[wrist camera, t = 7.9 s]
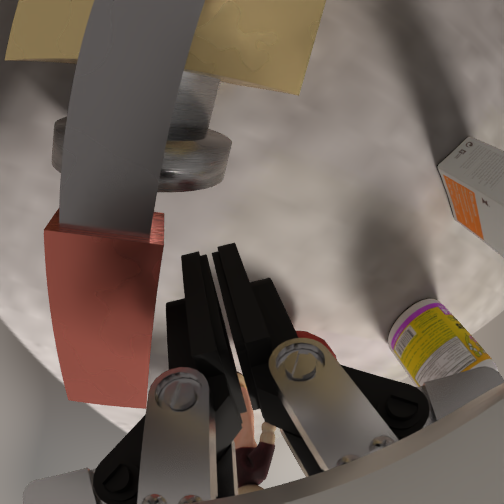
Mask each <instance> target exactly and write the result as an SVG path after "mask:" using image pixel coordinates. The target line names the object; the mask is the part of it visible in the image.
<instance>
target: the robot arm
mask: <svg viewBox="0 0 504 504" xmlns="http://www.w3.org/2000/svg"><path fill="white" fill-rule="evenodd" d="M212 256H213V260H214V265H215V269H216V273H217V277H218V281H219V285H220V289H221V293H222V297H223V301H224V305H225V309H226V313H227V317H228V321H229V325H230V329H231V333H232V337H233V340H234V344H235V348H236V352H237V355H238V359H239V362H240V366H241V370H242V373H243V377H244V380H245V384H246V387H247V391H248V394H249V398H250V401H251V405H252V408H253V410H256V409H261V412H262V416H263V418H264V420H265V422H266V423H269V424H271V425H273V426H276V427H278V428H280V431H281V434H282V435H283V437H284V439H285V441H286V442H287V444H288V446H289V448H290V450H291V451H292V453H293V455H294V457H295V459H296V460H297V462H298V464H299V466H300V467H301V469H302V471H303V472H304V474H305V476H306V478H303V479H300V480H296V481H293V482H289V483H286V484H282V485H278V486H275V487H271V488H267V489H262V490H258V491H254V492H250V493H245V494H240V495H238V482H237V468H236V452H235V442H234V438H235V437H236V436H237V434H238V433H239V432H240V430H241V429H242V425H241V424H242V423H243V422H242V418H241V414H240V413H245V412H247V409H246V405H245V401H244V398H243V394H242V390H241V386H240V382H239V379H238V375H237V371H236V367H235V363H234V359H233V355H232V351H231V347H230V343H229V339H228V335H227V331H226V327H225V323H224V319H223V315H222V312H221V308H220V304H219V301H218V297H217V293H216V289H215V285H214V282H213V278H212V274H211V270H210V266H209V262H208V258H207V255H202V256H200V254H199V251H198V252H194V253H190V254H186V255H182V256H181V260H182V272H183V283H184V293H185V298H184V299H180V300H176V301H171V302H167V303H166V322H167V344H168V361H169V370H168V371H166V372H164V373H162V374H161V375H160V376H159V377H157V378H156V379H155V381H154V382H153V384H152V385H151V387H150V390H149V394H148V401H147V409H146V415H145V416H144V417H143V418H142V419H141V420H140V421H139V422H138V423H137V424H136V425H135V426H134V427H133V429H132V430H131V431H130V432H129V433H128V434H127V435H126V436H125V437H124V438H123V439H122V440H121V441H120V443H118V444H117V446H116V447H115V448H114V449H113V450H112V451H111V452H110V453H109V454H108V455H107V456H106V457H105V458H104V459H103V460H102V461H101V462H100V464H99V465H98V467H97V468H96V469H93V470H90V469H88V468H84V469H80V470H76V471H73V472H68V473H65V474H60V475H56V476H51V477H47V478H42V479H38V480H34V481H32V482H30V483H29V484H28V485H27V486H26V488H25V490H24V493H23V504H504V380H503V378H502V376H501V375H500V374H499V372H498V371H496V370H495V369H493V368H491V367H487V366H483V367H477V368H474V369H470V370H467V371H464V372H460V373H457V374H453V375H450V376H446V377H442V378H439V379H435V380H431V381H427V382H424V383H423V385H422V386H419V387H414V386H411V385H409V384H405V383H402V382H398V381H394V380H391V379H387V378H384V377H380V376H377V375H373V374H370V373H366V372H363V371H359V370H356V369H353V368H349V367H346V366H343V365H340V364H339V363H338V361H337V360H336V359H335V357H334V356H333V355H332V354H331V352H330V351H329V350H328V349H327V348H326V347H325V346H324V345H323V344H322V343H320V342H318V341H316V340H314V339H309V338H299V337H298V335H297V333H296V331H295V329H294V327H293V325H292V323H291V320H290V318H289V316H288V314H287V312H286V310H285V308H284V305H283V303H282V301H281V299H280V297H279V295H278V293H277V291H276V288H275V286H274V284H273V282H272V280H271V279H270V278H266V279H262V280H258V281H254V282H249V279H248V277H247V274H246V271H245V269H244V266H243V263H242V261H241V258H240V255H239V253H238V250H237V247H236V244H235V243H232V244H227V245H223V246H219V247H218V252H214V253H212Z"/></svg>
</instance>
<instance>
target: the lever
mask: <svg viewBox="0 0 504 504" xmlns="http://www.w3.org/2000/svg"><path fill="white" fill-rule="evenodd" d="M204 2H205V0H94V3H93V6H92V9H91V12H90V15H89V19H88V22H87V26H86V29H85V33H84V36H83V40H82V44H81V48H80V52H79V56H78V61H77V65H76V70H75V74H74V79H73V84H72V90H71V95H70V101H69V107H68V114H67V121H66V128H65V136H64V145H63V155H62V167H61V182H60V206H59V209H58V210H57V211H56V213H55V214H54V216H53V217H52V219H51V220H50V222H49V223H48V225H47V226H46V228H45V229H44V247H45V263H46V276H47V286H48V295H49V304H50V311H51V318H52V325H53V331H54V337H55V342H56V348H57V353H58V358H59V363H60V367H61V372H62V376H63V381H64V385H65V389H66V393H67V396H68V400H71V401H78V402H85V403H92V404H101V405H110V406H120V407H131V408H145V409H146V403H147V387H148V374H149V361H150V350H151V340H152V330H153V321H154V312H155V304H156V296H157V288H158V281H159V274H160V267H161V260H162V253H163V247H164V213H158V212H154V207H155V201H156V195H157V189H158V183H159V178H160V172H161V167H162V162H163V157H164V152H165V147H166V142H167V138H168V133H169V128H170V124H171V119H172V115H173V111H174V107H175V102H176V98H177V94H178V90H179V86H180V83H181V79H182V75H183V71H184V68H185V64H186V60H187V57H188V53H189V50H190V46H191V43H192V40H193V36H194V33H195V30H196V27H197V23H198V20H199V17H200V14H201V11H202V8H203V5H204Z"/></svg>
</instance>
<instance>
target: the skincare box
mask: <svg viewBox="0 0 504 504" xmlns="http://www.w3.org/2000/svg"><path fill="white" fill-rule="evenodd" d="M438 170H439V172H440V175H441V177H442V180H443V183H444V186H445V189H446V192H447V195H448V198H449V201H450V205H451V208H452V212H453V215H454V219H455V221H457V222H458V223H460V224H461V225H462V226H464V227H465V228H466V229H468V230H469V231H470V232H472V233H473V234H474V235H476V236H477V237H478V238H480V239H481V240H482V241H483V242H485V243H486V244H487V245H488V246H490V247H491V248H492V249H493V250H495V251H496V252H497V253H498V254H500V255H501V256H502V257H503V258H504V151H502V150H500V149H498V148H496V147H493V146H491V145H489V144H487V143H485V142H482V141H480V140H477V139H475V138H473V137H468V138H466V139H465V140H464V141H463V142H462V143H461V144H460V145H459V146H458V147H457V148H456V149H455V150H454V151H453V152H452V153H451V154H450V155H449V156H447V157H446V158H445V159H444V160H443V161H442V162H441V163H440V164H439V165H438Z"/></svg>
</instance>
